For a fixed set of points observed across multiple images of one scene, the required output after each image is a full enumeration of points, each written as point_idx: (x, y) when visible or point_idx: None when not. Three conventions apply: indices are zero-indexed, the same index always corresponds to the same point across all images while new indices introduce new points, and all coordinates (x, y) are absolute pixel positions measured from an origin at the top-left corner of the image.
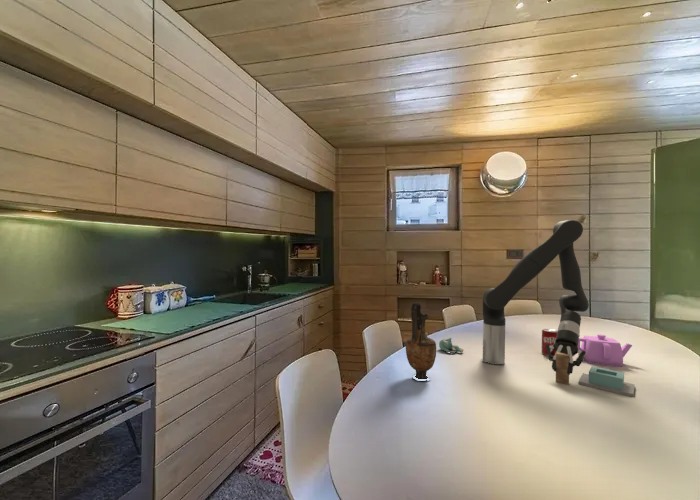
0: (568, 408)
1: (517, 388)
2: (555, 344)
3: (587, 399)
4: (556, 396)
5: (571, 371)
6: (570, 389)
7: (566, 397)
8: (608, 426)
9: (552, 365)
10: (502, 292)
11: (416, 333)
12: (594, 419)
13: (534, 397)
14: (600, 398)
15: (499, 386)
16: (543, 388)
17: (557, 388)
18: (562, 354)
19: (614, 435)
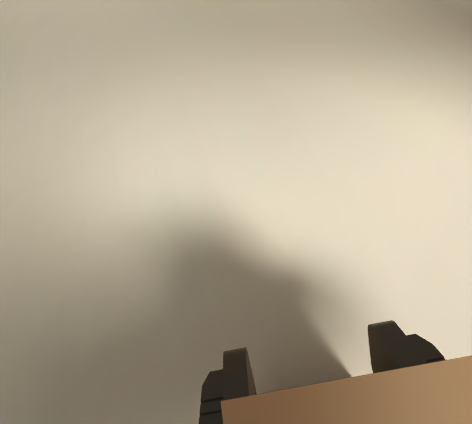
0: (156, 70)
1: (399, 70)
2: None
3: (106, 225)
4: (231, 133)
5: (207, 377)
6: (215, 305)
7: (193, 161)
8: (32, 58)
9: (433, 355)
10: None
11: None
12: (70, 65)
13: (290, 52)
14: (45, 308)
15: (459, 27)
16: (327, 174)
17: (277, 246)
18: (362, 405)
19: (21, 27)
